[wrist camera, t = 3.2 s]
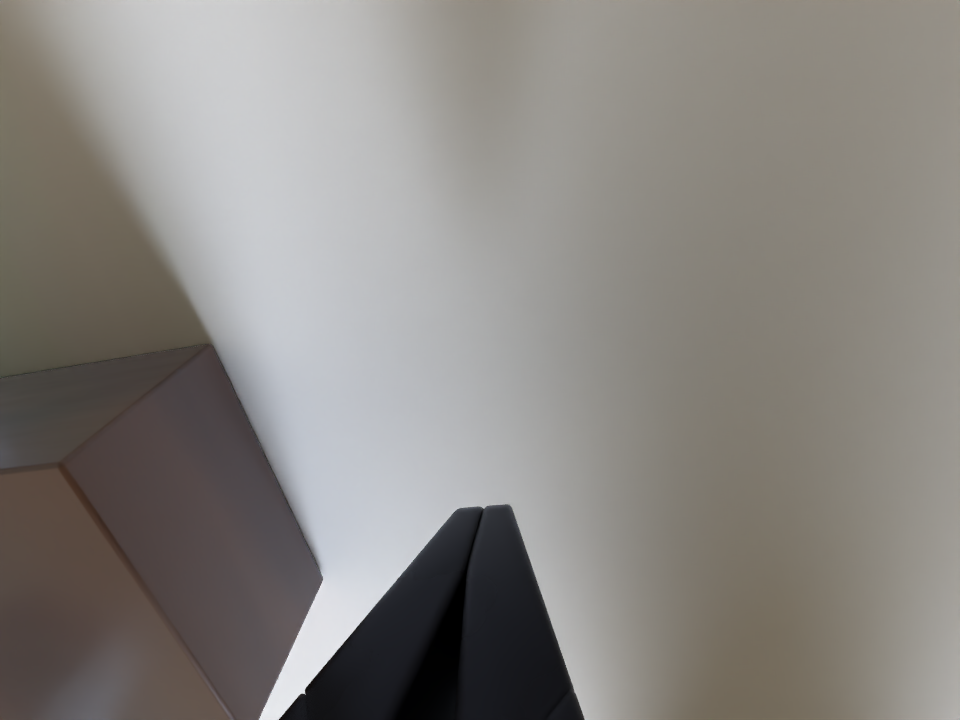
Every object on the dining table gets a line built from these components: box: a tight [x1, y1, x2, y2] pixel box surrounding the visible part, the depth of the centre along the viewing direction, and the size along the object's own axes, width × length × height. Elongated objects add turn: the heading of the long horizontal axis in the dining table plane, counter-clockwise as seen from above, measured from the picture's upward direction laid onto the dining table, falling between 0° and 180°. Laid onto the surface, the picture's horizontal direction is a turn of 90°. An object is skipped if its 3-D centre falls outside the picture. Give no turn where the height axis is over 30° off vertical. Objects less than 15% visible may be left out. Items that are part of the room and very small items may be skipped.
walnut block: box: [0, 344, 323, 720], centre depth 10 cm, size 6×6×4 cm
